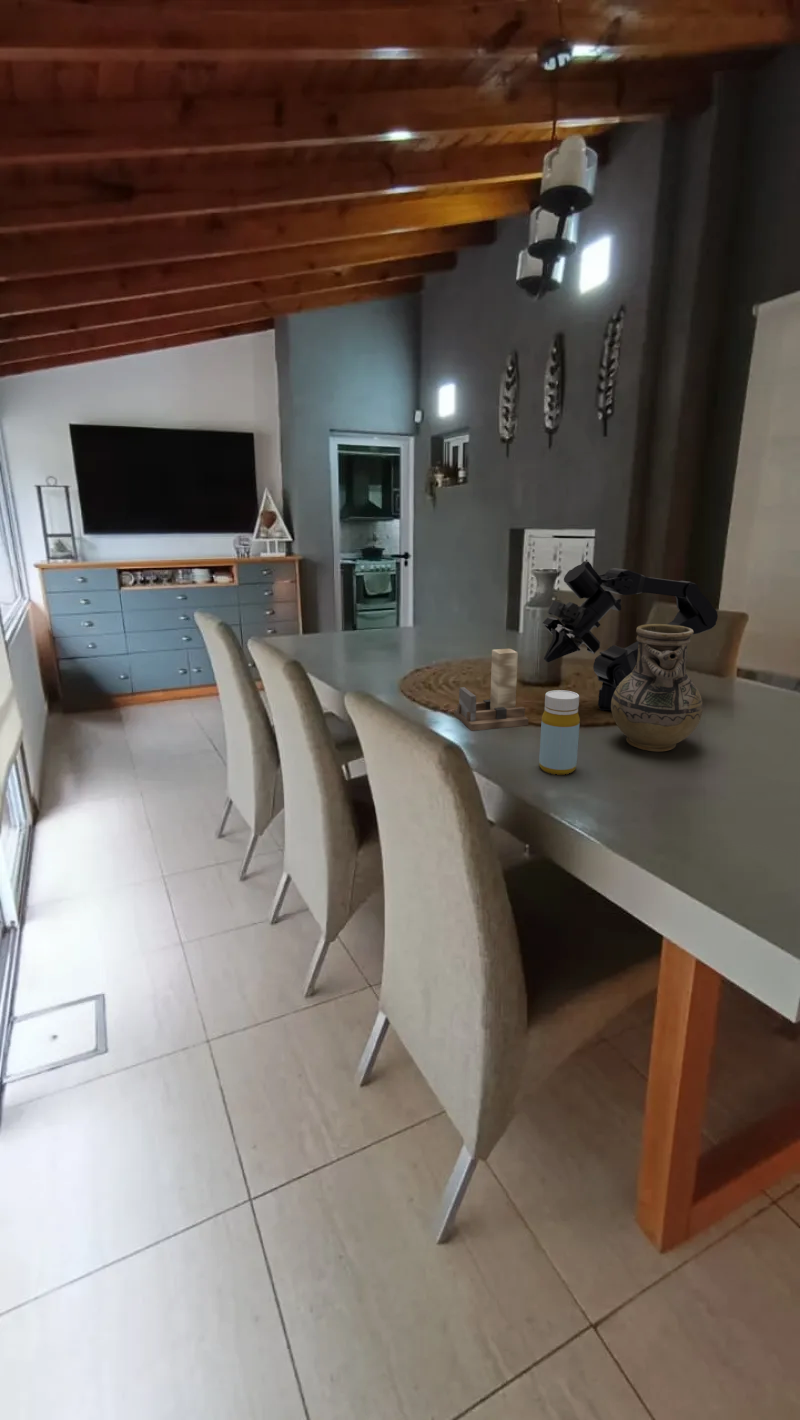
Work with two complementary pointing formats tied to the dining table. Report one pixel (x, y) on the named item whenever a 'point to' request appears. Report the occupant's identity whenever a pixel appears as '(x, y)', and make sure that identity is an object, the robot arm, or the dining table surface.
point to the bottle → (559, 732)
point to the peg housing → (486, 713)
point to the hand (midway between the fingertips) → (545, 660)
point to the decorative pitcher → (658, 691)
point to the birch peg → (503, 678)
